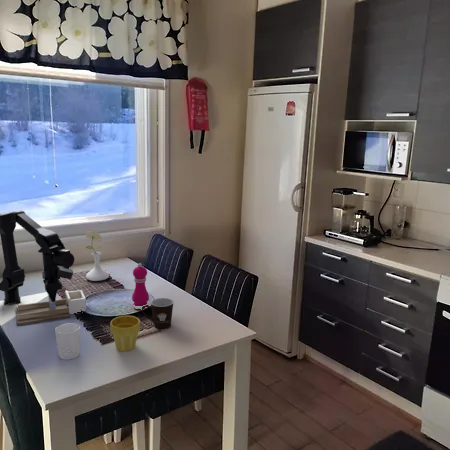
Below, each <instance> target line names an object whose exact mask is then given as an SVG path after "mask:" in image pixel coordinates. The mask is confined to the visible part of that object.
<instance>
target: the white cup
mask: <svg viewBox="0 0 450 450" xmlns="http://www.w3.org/2000/svg"><path fill="white" fill-rule="evenodd" d="M54 332H55V333H54V334H55V339H56V348H57V352H58V357H59V359H60V360H65V361H68V360H69V361H70V360H73V359H77V357H79V356H80V354H81V353H80V352H81V348H80V346H81V326H80V324H78V323H76V322H75V323H74V322H68V323H63V324H60V325H58V326H56V327H55V329H54Z"/></svg>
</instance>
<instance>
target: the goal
mask: <svg viewBox="0 0 450 450" xmlns="http://www.w3.org/2000/svg"><path fill="white" fill-rule="evenodd" d="M64 293H65V299H66V304H67V305H68V307H69V313H70V315H73V314H74V313H76V314H78V313H77V312H81V310H80V308H81V307H86V308H87V302H86V301H87V299H86V296H85V294H84V292H83V290H82V289H78V290H71V291H68V290H65V292H64ZM74 315H75V314H74Z"/></svg>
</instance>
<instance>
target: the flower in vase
mask: <svg viewBox="0 0 450 450" xmlns="http://www.w3.org/2000/svg"><path fill="white" fill-rule="evenodd" d="M85 237H86V238H87V239H88V240H89V241H90V242H91V243H99V242H101V240H102V236H101V234H100V233H98V232H96V231H95V230H89V231H86V232H85ZM101 247H102V246H98V247H96V248H95V249H94V247H93V246H92V245H86V247H85V249H88V250H93V252H91V255H92V256H93V259H94V267H93V268H92V269H91V270H89V271H88V273H87V274H86V275H85V278H86V279H87V280H89V281H91V282H92V281H93V282H98V281H104V280H106V279H108V278H109V277H110V273H109V272H108V271H106V269H103V268H102V267H101V265H100V264H101V263H100V259H101V255H102V253H103V252H101V251H98V250H99V249H101Z"/></svg>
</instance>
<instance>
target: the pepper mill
mask: <svg viewBox="0 0 450 450" xmlns="http://www.w3.org/2000/svg"><path fill="white" fill-rule="evenodd" d="M132 276H133V277H134V278H133V282H135V283H134V284H135V285H134V286H135V287H134V291H133V293H132V296H131V300H132V302H133V305H135V306H143V305H146V304H147V303H148V302H149V300H150V295H149V292H148V290H147V287H146V282H147V276H148V270H147V268H146V267H144V266H143V263H141V262H139V263H138V264H137V266H136V267H135V268H133V270H132Z"/></svg>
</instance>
